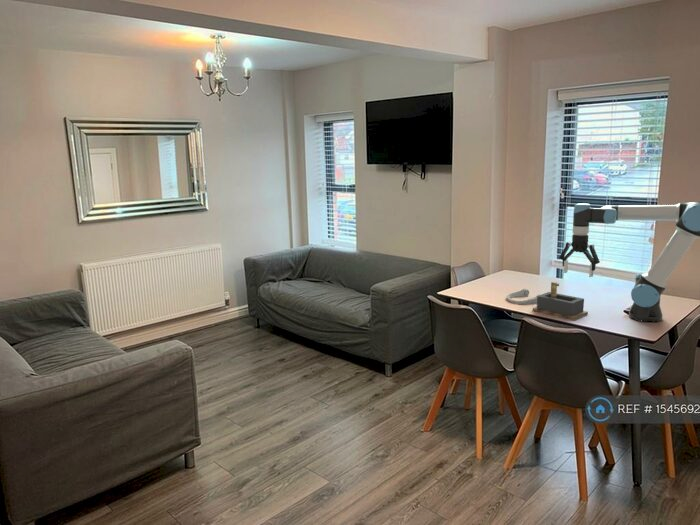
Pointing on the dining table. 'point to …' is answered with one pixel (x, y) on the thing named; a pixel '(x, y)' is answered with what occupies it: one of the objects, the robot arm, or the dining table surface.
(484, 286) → the dining table surface
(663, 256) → the robot arm
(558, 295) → the grey storage bin
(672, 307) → the dining table surface
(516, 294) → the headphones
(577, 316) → the hook board
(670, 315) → the dining table surface
